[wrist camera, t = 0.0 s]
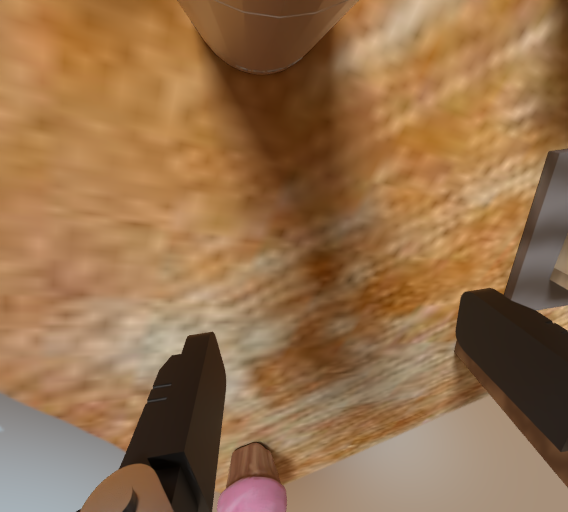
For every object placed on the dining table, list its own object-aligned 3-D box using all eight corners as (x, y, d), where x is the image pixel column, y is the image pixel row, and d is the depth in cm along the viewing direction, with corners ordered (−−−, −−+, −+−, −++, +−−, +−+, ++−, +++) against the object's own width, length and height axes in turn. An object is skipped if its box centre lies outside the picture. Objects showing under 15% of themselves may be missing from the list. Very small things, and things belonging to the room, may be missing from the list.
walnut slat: (459, 328, 34) (591, 466, 21) (499, 321, 34) (653, 454, 21) (454, 351, 36) (571, 491, 23) (491, 345, 36) (629, 481, 23)
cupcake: (210, 449, 41) (199, 544, 32) (258, 424, 39) (261, 516, 30) (248, 472, 44) (247, 562, 36) (293, 450, 43) (304, 538, 34)
